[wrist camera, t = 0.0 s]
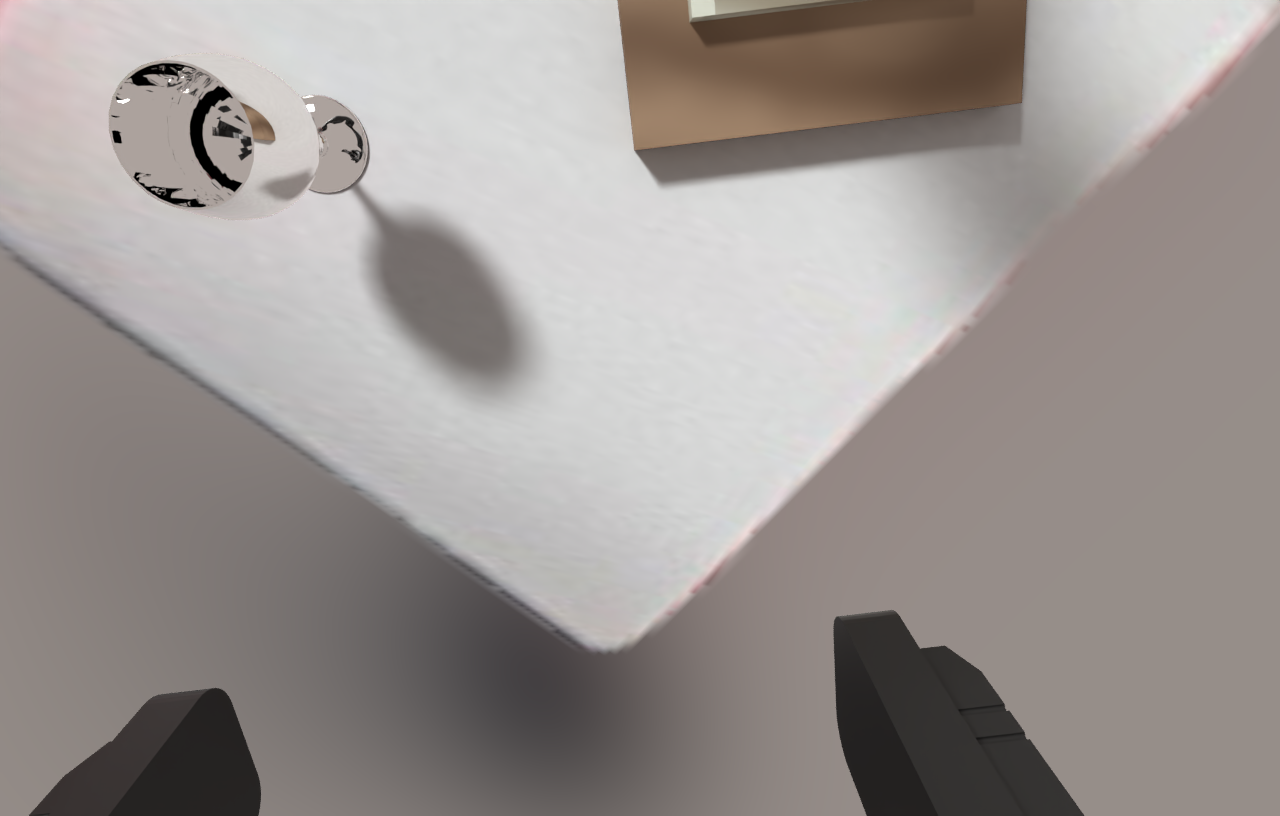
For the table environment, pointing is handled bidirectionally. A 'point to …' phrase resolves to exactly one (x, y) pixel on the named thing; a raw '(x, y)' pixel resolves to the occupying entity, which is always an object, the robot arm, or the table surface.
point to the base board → (812, 63)
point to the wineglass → (230, 137)
